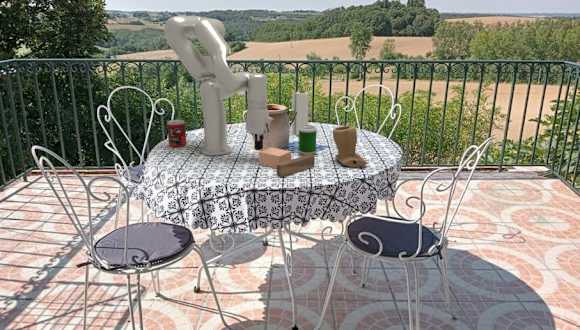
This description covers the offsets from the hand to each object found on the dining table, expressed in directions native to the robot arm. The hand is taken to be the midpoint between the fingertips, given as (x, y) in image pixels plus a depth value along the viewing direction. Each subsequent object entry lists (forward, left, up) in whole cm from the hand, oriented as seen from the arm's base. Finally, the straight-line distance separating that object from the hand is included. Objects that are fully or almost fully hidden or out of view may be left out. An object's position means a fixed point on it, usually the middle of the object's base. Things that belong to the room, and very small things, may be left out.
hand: (258, 149), depth 183 cm
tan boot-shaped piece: (+29, +22, -5) cm, 37 cm away
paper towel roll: (-15, +42, -4) cm, 45 cm away
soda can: (+9, +20, -5) cm, 22 cm away
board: (+21, 0, -4) cm, 22 cm away
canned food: (-42, -12, -5) cm, 44 cm away
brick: (+10, 0, -5) cm, 11 cm away
